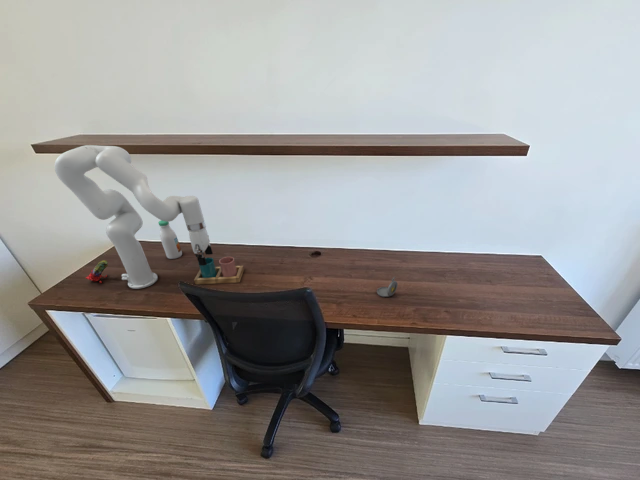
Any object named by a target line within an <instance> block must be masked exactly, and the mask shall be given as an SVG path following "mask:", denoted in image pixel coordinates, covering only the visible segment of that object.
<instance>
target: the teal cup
mask: <svg viewBox="0 0 640 480" xmlns="http://www.w3.org/2000/svg"><path fill="white" fill-rule="evenodd" d="M205 260H206V263H207V265H201V266H200V265H199V262H198V261H197V262H198V267H199V270H201V274H202V278H212V277H216V275H217V271H216V267H217V266H216V263H215V260H214V258H213V257H205Z"/></svg>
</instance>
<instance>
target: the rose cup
mask: <svg viewBox="0 0 640 480" xmlns="http://www.w3.org/2000/svg"><path fill="white" fill-rule="evenodd" d="M218 263H219V267H221V271H222V275H223V276H222V277H234V276H237V273H238V272H237V270H236V266H237V265H236V261H235V257H233V256H224V257H222V258H220V259H219V260H218Z"/></svg>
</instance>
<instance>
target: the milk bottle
mask: <svg viewBox="0 0 640 480" xmlns="http://www.w3.org/2000/svg"><path fill="white" fill-rule="evenodd" d="M157 224H158V226H159V228H160V232H159V237H160V242H161V244H162V247H163V250H164V253H165V256H166V258H167V259H169V260H174V259H175V260H176V259H179V258H181V257H182V255H183V252H182V248H181V245H180V242H179V239H178V236H177V234H176V232H175V231H174V230H173V229H172V228H171V226H170V222H166V221H162V220H159V221H158V223H157Z"/></svg>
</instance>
